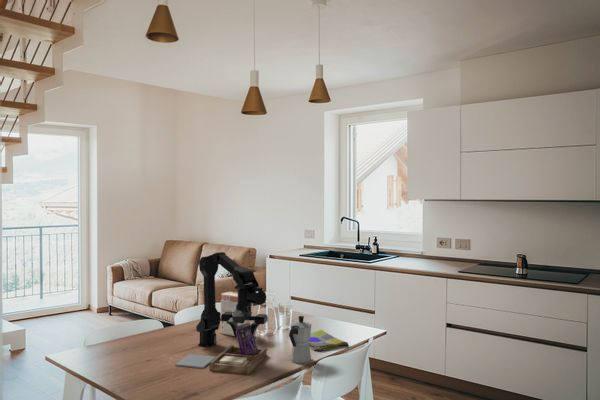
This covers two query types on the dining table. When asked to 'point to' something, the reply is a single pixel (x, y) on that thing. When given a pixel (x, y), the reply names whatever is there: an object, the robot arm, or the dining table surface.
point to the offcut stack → (234, 361)
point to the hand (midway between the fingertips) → (244, 338)
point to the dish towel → (324, 341)
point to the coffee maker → (300, 341)
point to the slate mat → (195, 361)
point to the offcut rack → (233, 349)
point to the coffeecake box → (230, 310)
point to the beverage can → (246, 339)
